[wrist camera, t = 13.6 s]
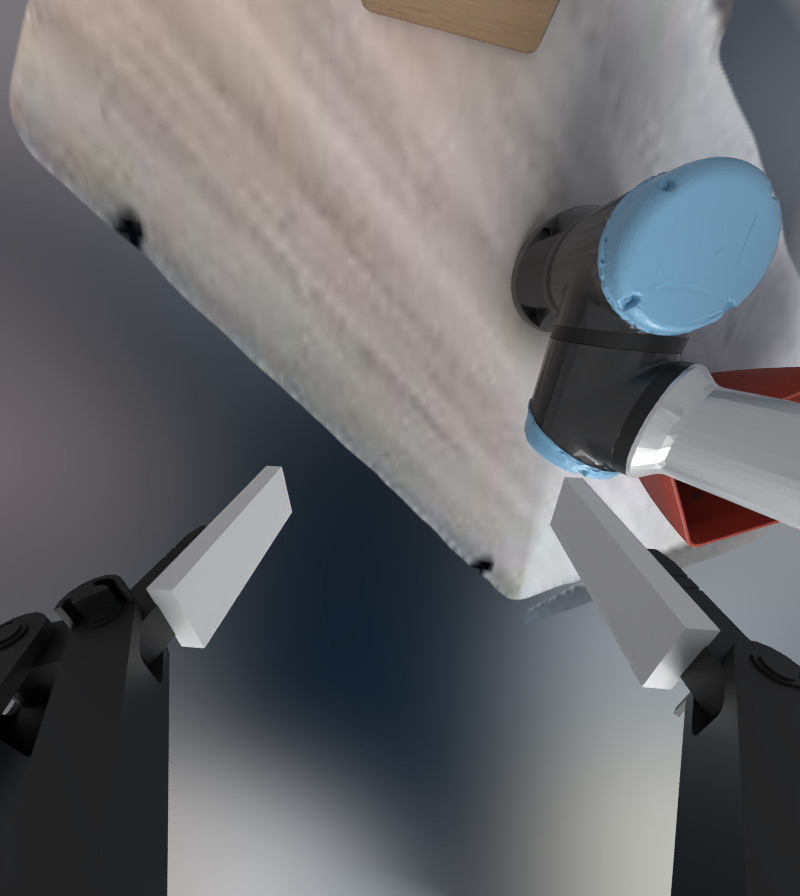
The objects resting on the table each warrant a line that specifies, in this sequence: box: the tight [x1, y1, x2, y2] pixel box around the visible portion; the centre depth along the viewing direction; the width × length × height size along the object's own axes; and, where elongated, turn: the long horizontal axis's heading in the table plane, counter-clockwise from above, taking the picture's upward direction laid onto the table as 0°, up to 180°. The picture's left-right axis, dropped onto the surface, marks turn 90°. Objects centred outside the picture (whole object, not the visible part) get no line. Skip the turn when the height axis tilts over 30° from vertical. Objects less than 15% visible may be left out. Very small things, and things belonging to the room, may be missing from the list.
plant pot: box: [639, 367, 800, 547], centre depth 42 cm, size 19×19×17 cm
